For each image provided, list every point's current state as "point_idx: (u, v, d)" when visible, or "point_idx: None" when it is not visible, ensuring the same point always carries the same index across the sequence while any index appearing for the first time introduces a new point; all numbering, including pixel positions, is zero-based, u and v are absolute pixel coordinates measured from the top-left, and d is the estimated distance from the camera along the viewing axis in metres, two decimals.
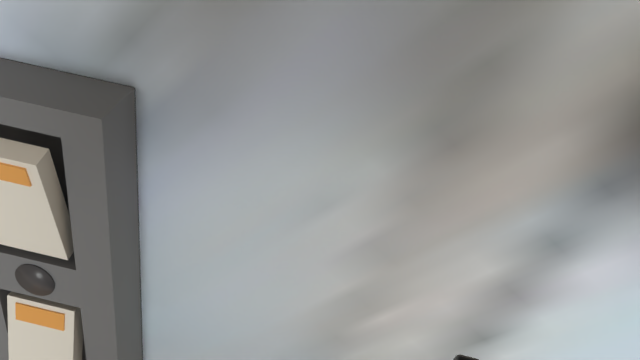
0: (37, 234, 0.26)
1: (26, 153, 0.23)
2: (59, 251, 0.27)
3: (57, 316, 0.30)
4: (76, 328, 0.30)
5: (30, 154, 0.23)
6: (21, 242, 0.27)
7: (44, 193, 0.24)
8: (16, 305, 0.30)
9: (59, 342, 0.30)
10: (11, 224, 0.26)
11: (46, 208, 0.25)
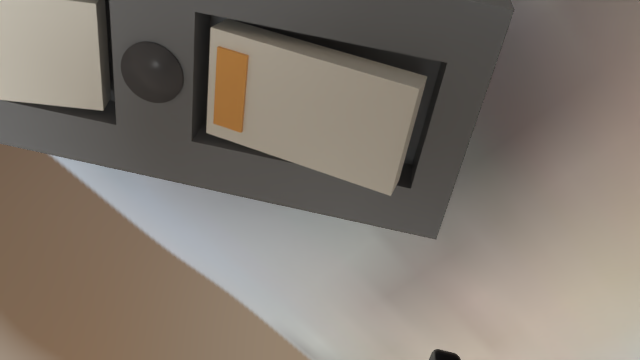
0: (44, 33, 0.18)
1: None
2: (75, 10, 0.17)
3: (226, 60, 0.17)
4: (252, 36, 0.17)
5: None
6: (82, 69, 0.18)
7: None
8: (216, 122, 0.19)
9: (274, 72, 0.17)
10: (39, 68, 0.18)
11: None
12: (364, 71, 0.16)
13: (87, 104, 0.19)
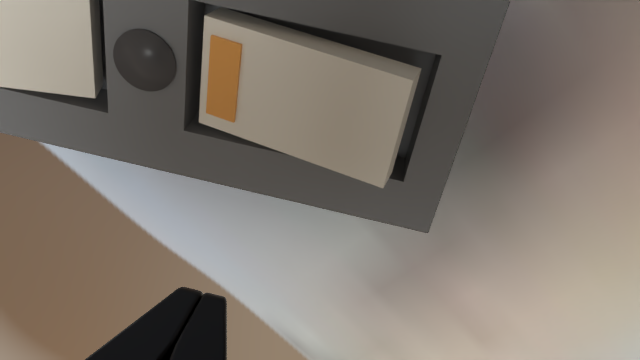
0: (36, 19, 0.18)
1: None
2: None
3: (219, 49, 0.17)
4: (246, 24, 0.17)
5: None
6: (74, 55, 0.18)
7: None
8: (209, 112, 0.18)
9: (268, 61, 0.17)
10: (30, 54, 0.18)
11: None
12: (358, 62, 0.16)
13: (79, 91, 0.19)
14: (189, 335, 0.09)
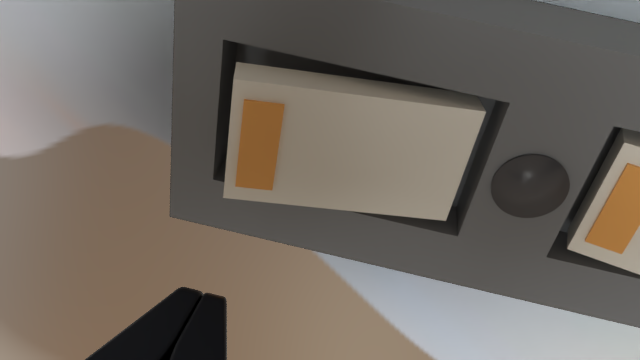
0: (415, 142, 0.15)
1: None
2: (459, 119, 0.15)
3: (632, 178, 0.15)
4: None
5: None
6: (441, 178, 0.16)
7: (301, 89, 0.14)
8: (590, 241, 0.16)
9: None
10: (393, 177, 0.16)
11: (341, 100, 0.14)
12: None
13: (431, 214, 0.17)
14: (189, 335, 0.09)
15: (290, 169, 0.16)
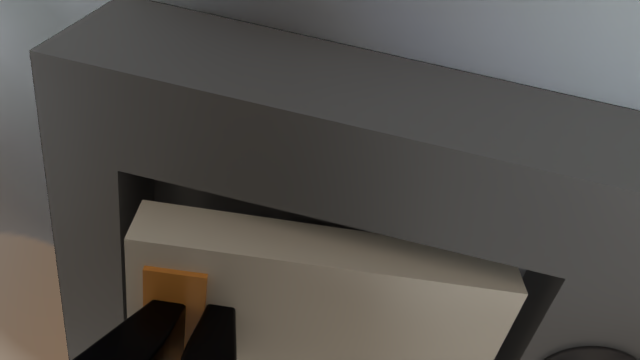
0: (414, 328, 0.10)
1: None
2: (485, 301, 0.09)
3: None
4: None
5: None
6: None
7: (233, 256, 0.09)
8: None
9: None
10: None
11: (296, 272, 0.09)
12: None
13: None
14: (199, 338, 0.09)
15: None
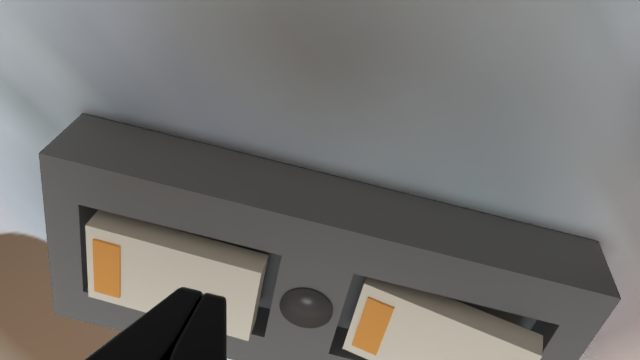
0: (214, 284, 0.21)
1: None
2: (243, 274, 0.20)
3: (373, 306, 0.21)
4: (398, 292, 0.21)
5: None
6: (238, 312, 0.21)
7: (130, 238, 0.20)
8: (354, 345, 0.22)
9: (416, 322, 0.21)
10: None
11: (158, 249, 0.20)
12: (495, 335, 0.20)
13: (236, 334, 0.22)
14: (189, 335, 0.09)
15: (131, 286, 0.22)
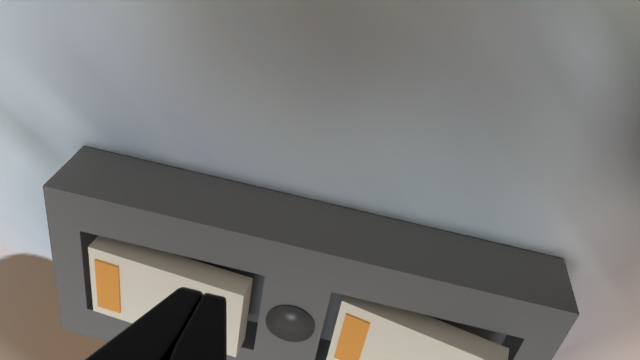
0: None
1: None
2: (228, 296, 0.22)
3: (351, 322, 0.23)
4: (374, 309, 0.22)
5: None
6: None
7: (127, 260, 0.22)
8: (336, 357, 0.24)
9: (390, 336, 0.22)
10: None
11: (151, 270, 0.22)
12: (463, 348, 0.21)
13: None
14: (189, 335, 0.09)
15: (129, 303, 0.24)
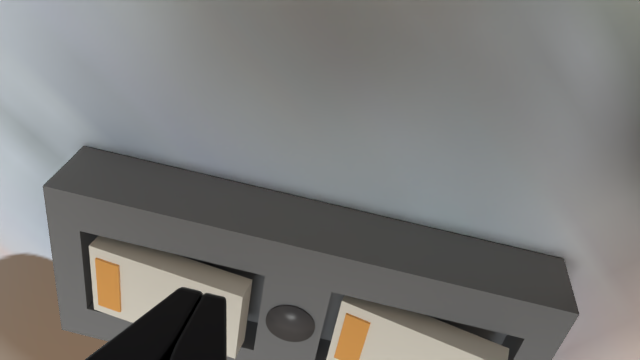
0: None
1: None
2: (227, 297, 0.22)
3: (351, 322, 0.23)
4: (374, 309, 0.22)
5: None
6: None
7: (127, 259, 0.22)
8: (336, 357, 0.24)
9: (390, 336, 0.22)
10: None
11: (151, 270, 0.22)
12: (463, 348, 0.21)
13: None
14: (189, 335, 0.09)
15: (129, 302, 0.24)
